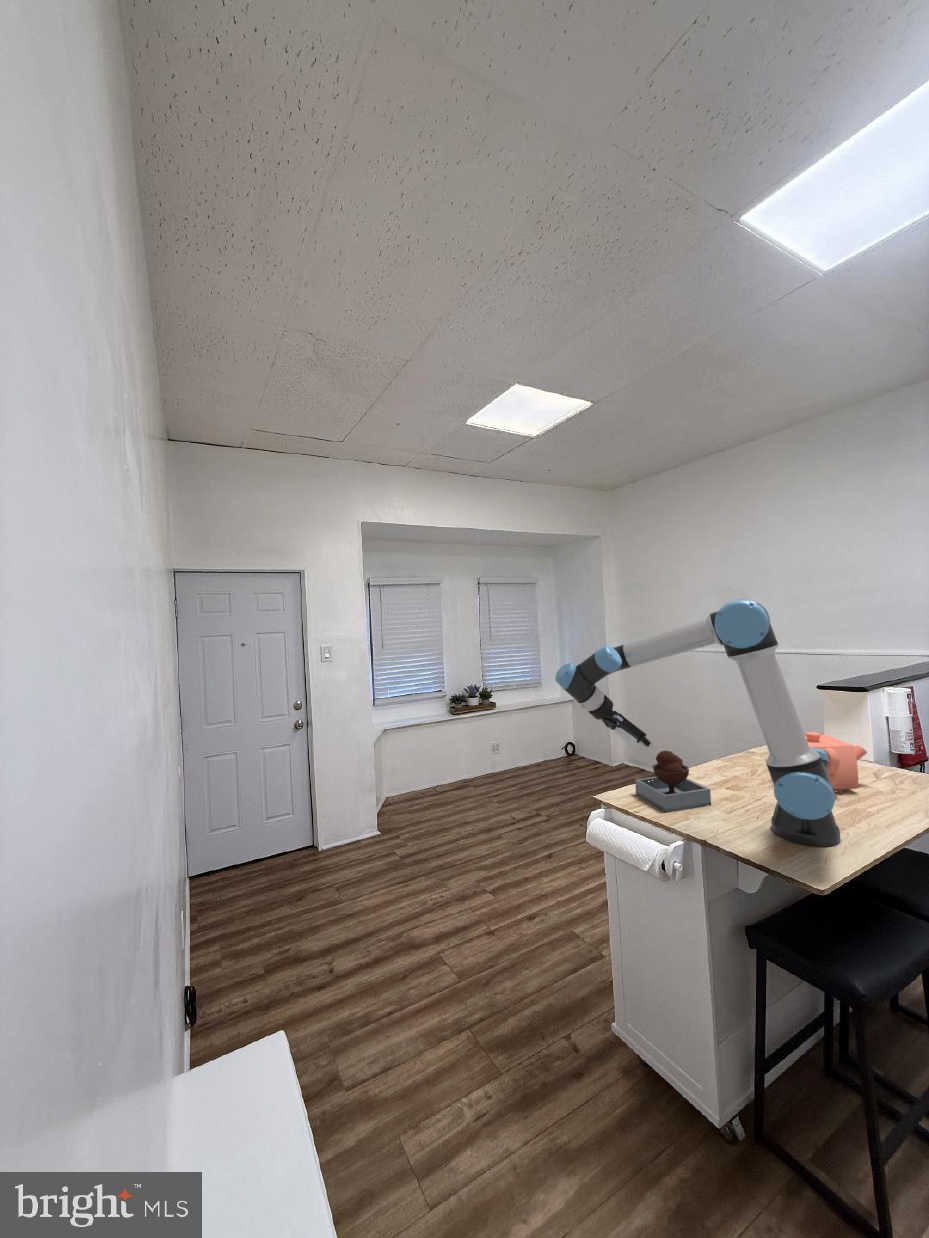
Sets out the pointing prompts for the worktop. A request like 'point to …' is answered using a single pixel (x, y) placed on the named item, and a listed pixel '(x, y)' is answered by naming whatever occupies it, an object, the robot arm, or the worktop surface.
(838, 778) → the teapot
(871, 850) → the worktop surface
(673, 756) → the ice cream bowl
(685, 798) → the tray
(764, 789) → the worktop surface
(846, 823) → the worktop surface
